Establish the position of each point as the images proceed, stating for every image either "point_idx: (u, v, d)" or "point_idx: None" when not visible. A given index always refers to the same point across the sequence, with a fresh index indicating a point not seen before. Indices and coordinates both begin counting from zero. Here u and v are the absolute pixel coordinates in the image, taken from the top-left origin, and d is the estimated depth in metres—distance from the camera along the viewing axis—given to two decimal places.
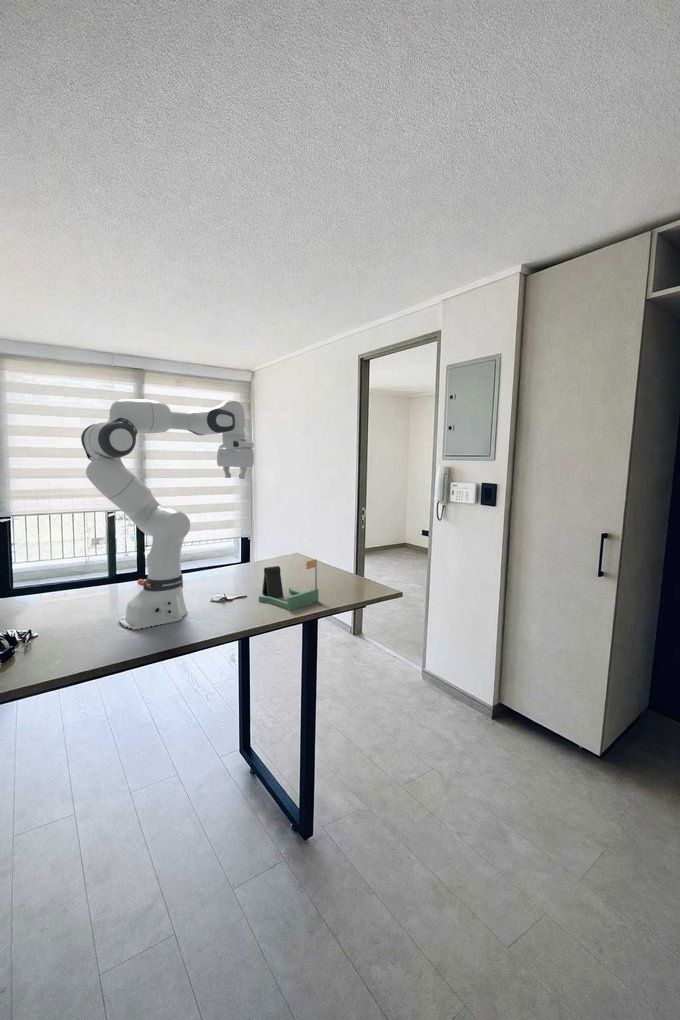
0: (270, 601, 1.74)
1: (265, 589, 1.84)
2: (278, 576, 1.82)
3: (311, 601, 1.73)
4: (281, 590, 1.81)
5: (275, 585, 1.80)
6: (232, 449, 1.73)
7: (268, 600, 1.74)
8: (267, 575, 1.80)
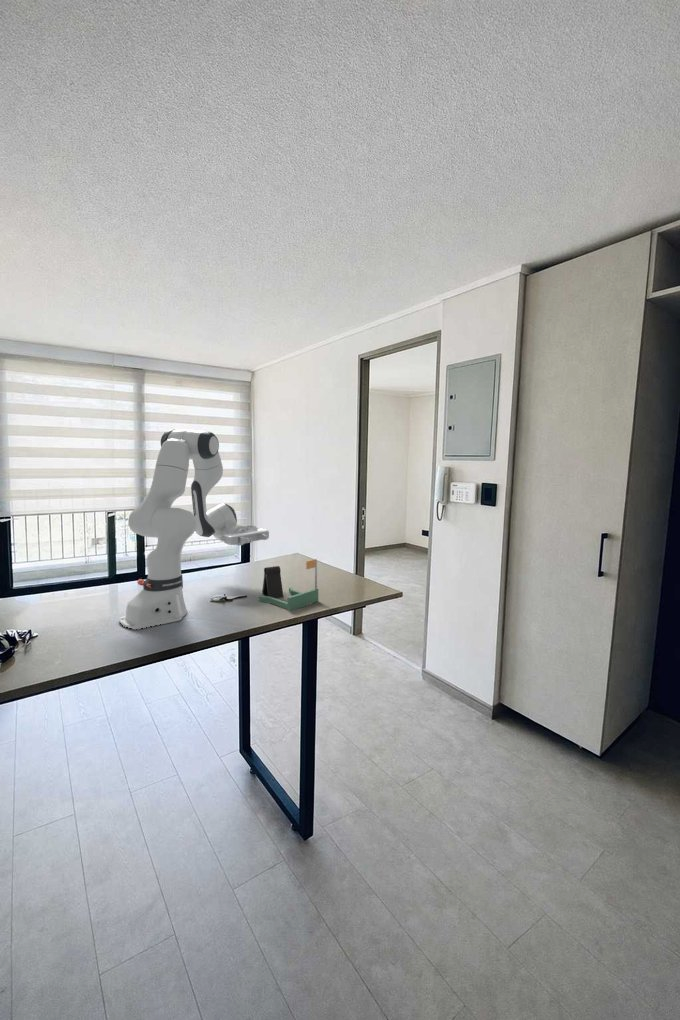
0: (270, 601, 1.74)
1: (265, 589, 1.84)
2: (278, 576, 1.82)
3: (311, 601, 1.73)
4: (281, 590, 1.81)
5: (275, 585, 1.80)
6: None
7: (268, 600, 1.74)
8: (267, 575, 1.80)
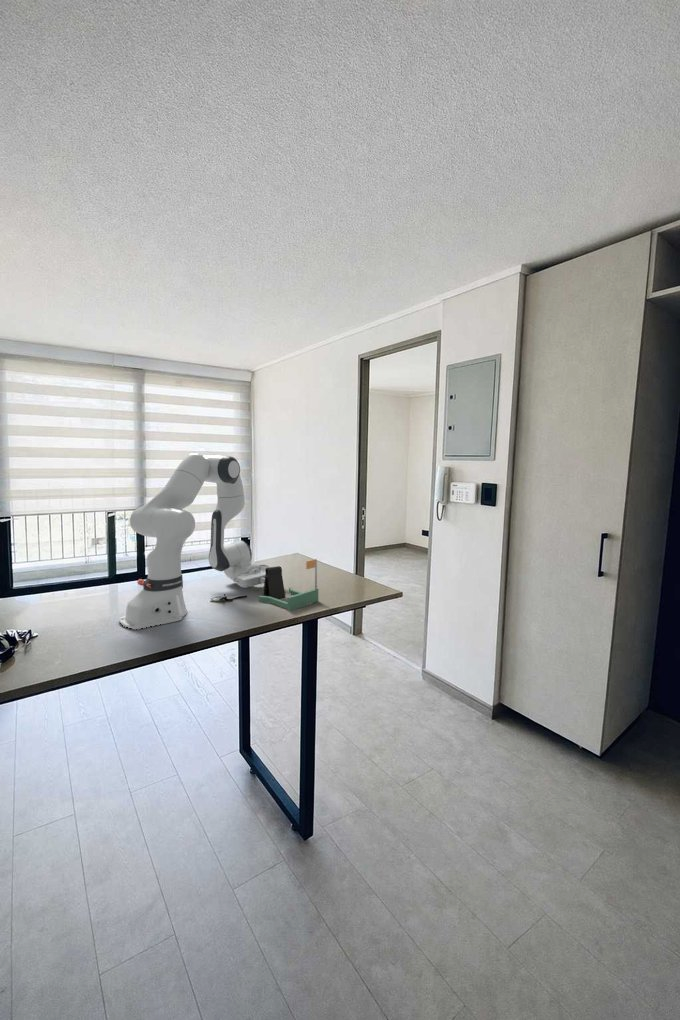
0: (270, 601, 1.74)
1: (266, 589, 1.83)
2: (280, 576, 1.81)
3: (311, 601, 1.73)
4: (283, 590, 1.81)
5: (277, 585, 1.80)
6: None
7: (268, 600, 1.74)
8: (269, 575, 1.79)
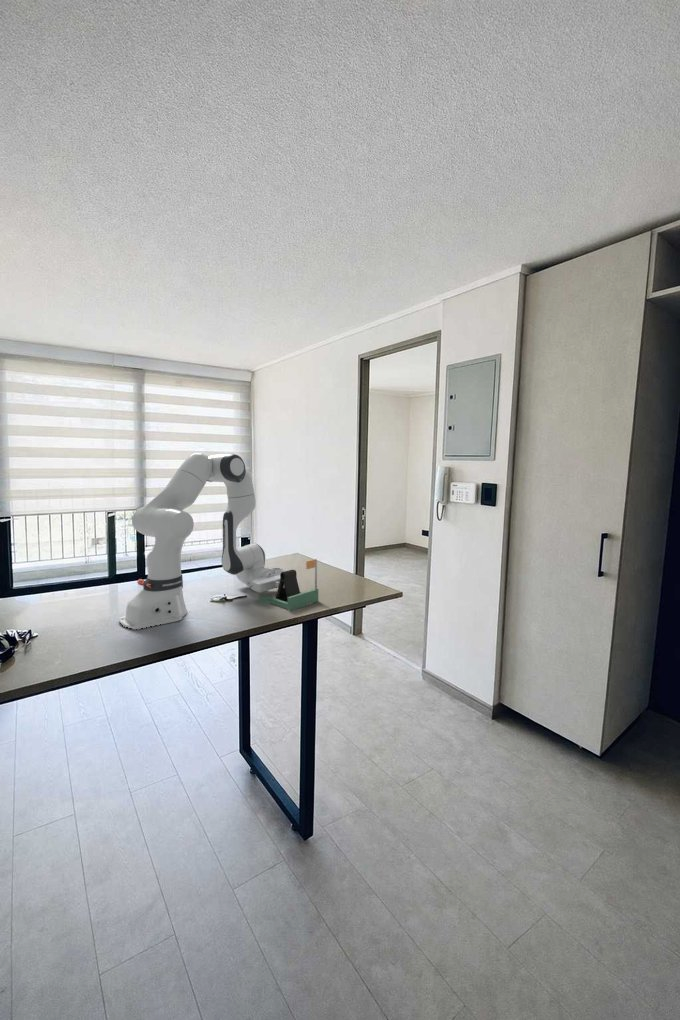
0: (270, 601, 1.74)
1: (280, 594, 1.76)
2: (295, 580, 1.76)
3: (311, 601, 1.73)
4: None
5: (293, 589, 1.75)
6: None
7: (268, 600, 1.74)
8: (285, 580, 1.73)
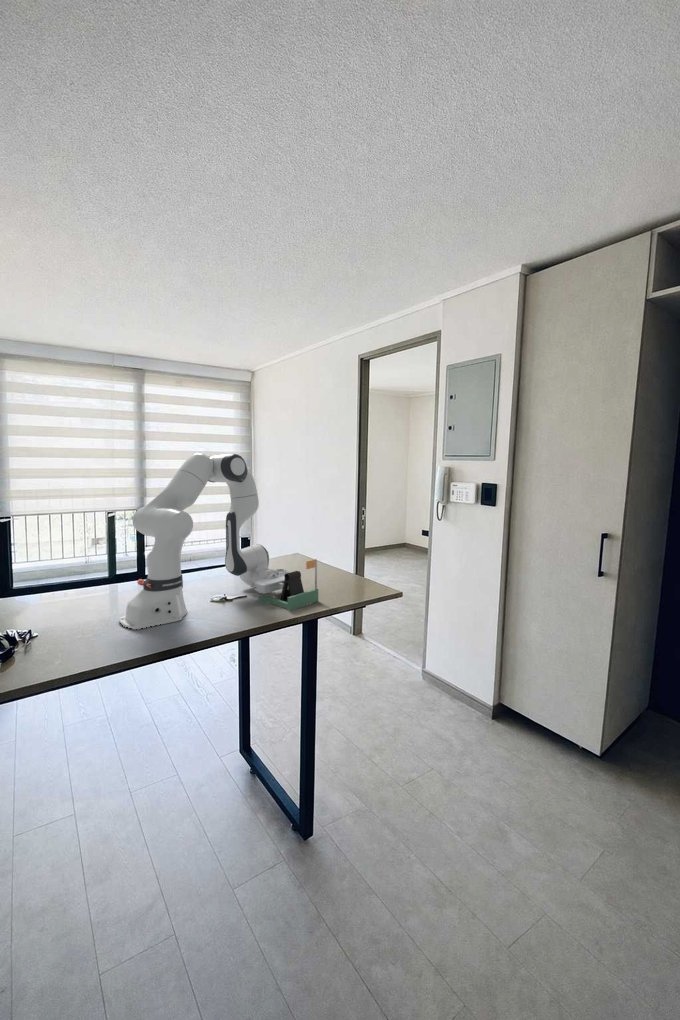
0: (270, 601, 1.74)
1: (284, 596, 1.75)
2: (299, 581, 1.75)
3: (311, 601, 1.73)
4: None
5: (298, 591, 1.73)
6: None
7: (268, 600, 1.74)
8: (290, 581, 1.71)
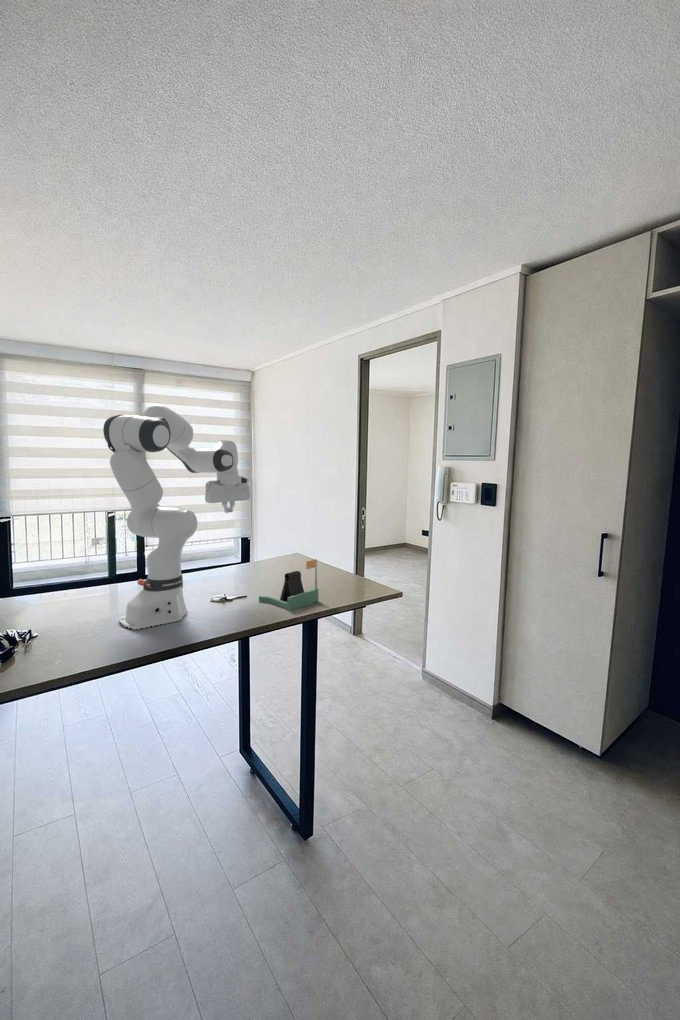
0: (270, 601, 1.74)
1: (284, 596, 1.75)
2: (299, 581, 1.75)
3: (311, 601, 1.73)
4: None
5: (298, 591, 1.73)
6: (235, 485, 1.87)
7: (268, 600, 1.74)
8: (290, 581, 1.71)
